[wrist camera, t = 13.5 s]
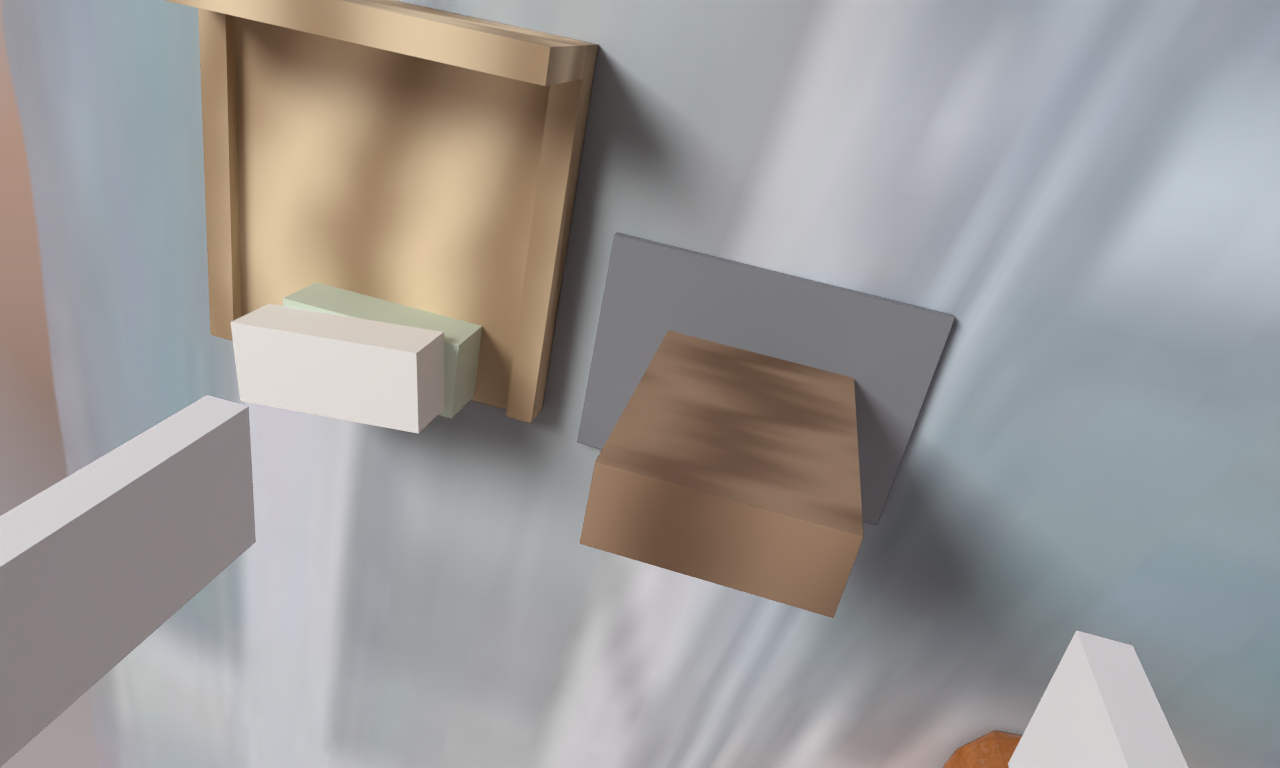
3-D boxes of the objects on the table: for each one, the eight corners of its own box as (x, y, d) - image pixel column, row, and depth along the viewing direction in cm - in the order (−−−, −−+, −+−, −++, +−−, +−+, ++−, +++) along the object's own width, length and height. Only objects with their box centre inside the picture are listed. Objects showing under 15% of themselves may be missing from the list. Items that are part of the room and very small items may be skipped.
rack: (598, 44, 32) (550, 47, 26) (542, 408, 38) (494, 470, 33) (223, -37, 34) (106, -51, 28) (233, 323, 40) (139, 368, 35)
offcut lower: (482, 325, 36) (459, 345, 34) (474, 395, 38) (451, 418, 35) (316, 282, 37) (283, 298, 35) (314, 352, 39) (282, 371, 36)
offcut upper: (444, 332, 34) (416, 353, 32) (444, 408, 35) (418, 433, 33) (269, 303, 35) (230, 322, 33) (276, 378, 37) (240, 400, 34)
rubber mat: (953, 315, 33) (954, 318, 32) (876, 520, 37) (876, 525, 37) (616, 232, 34) (614, 234, 34) (579, 438, 39) (577, 442, 38)
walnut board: (853, 377, 34) (863, 536, 23) (833, 439, 35) (833, 617, 25) (668, 330, 35) (595, 461, 24) (654, 392, 36) (579, 543, 26)
